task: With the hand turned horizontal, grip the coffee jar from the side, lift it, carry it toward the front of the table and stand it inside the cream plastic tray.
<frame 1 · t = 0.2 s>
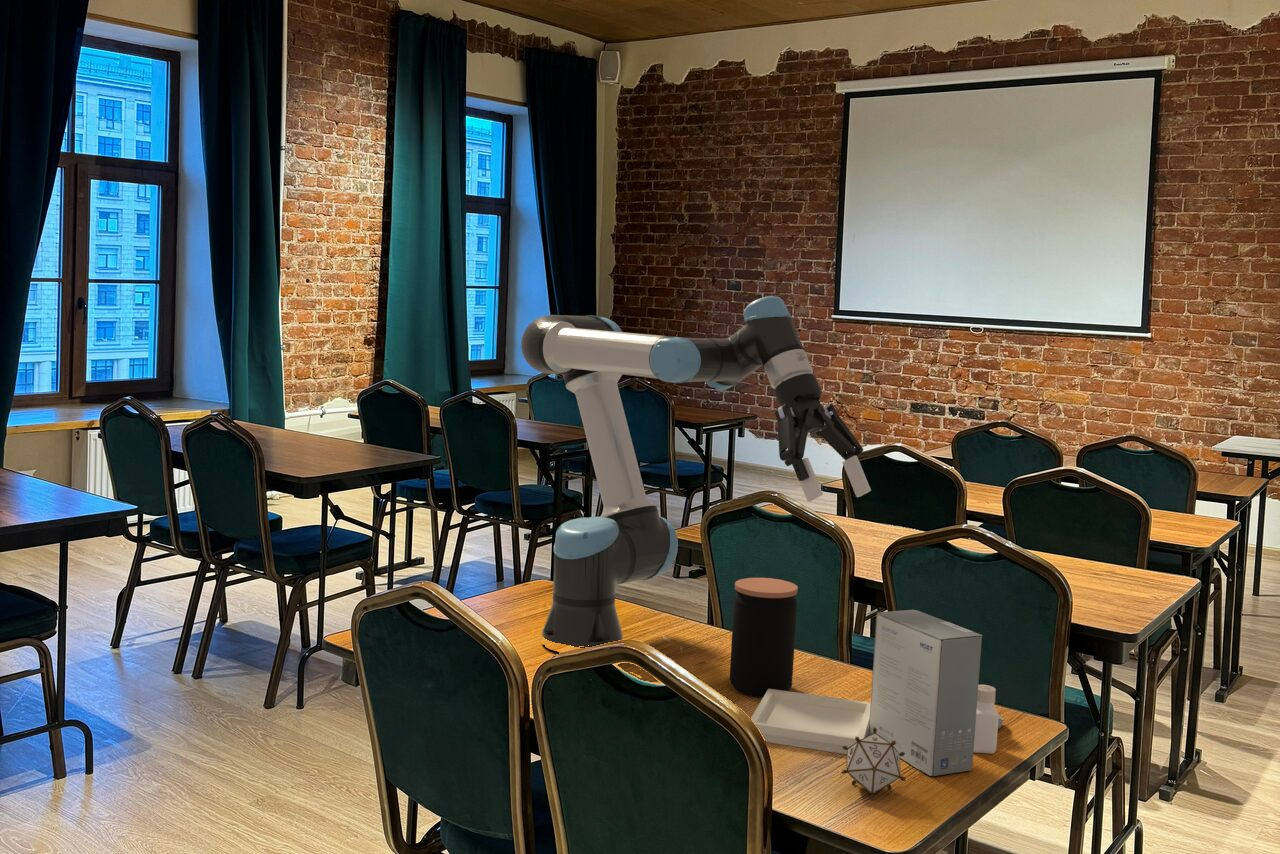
hand: (840, 496, 191), 34 cm above the table, tool tilted 30°, fingers open, 13 cm apart
tray: (811, 728, 180), on the table
game die: (871, 792, 157), on the table
ceramic mug: (967, 727, 184), on the table
pepper shaker: (979, 750, 174), on the table
coffee jar: (760, 689, 198), on the table
hard drive box: (918, 756, 171), on the table
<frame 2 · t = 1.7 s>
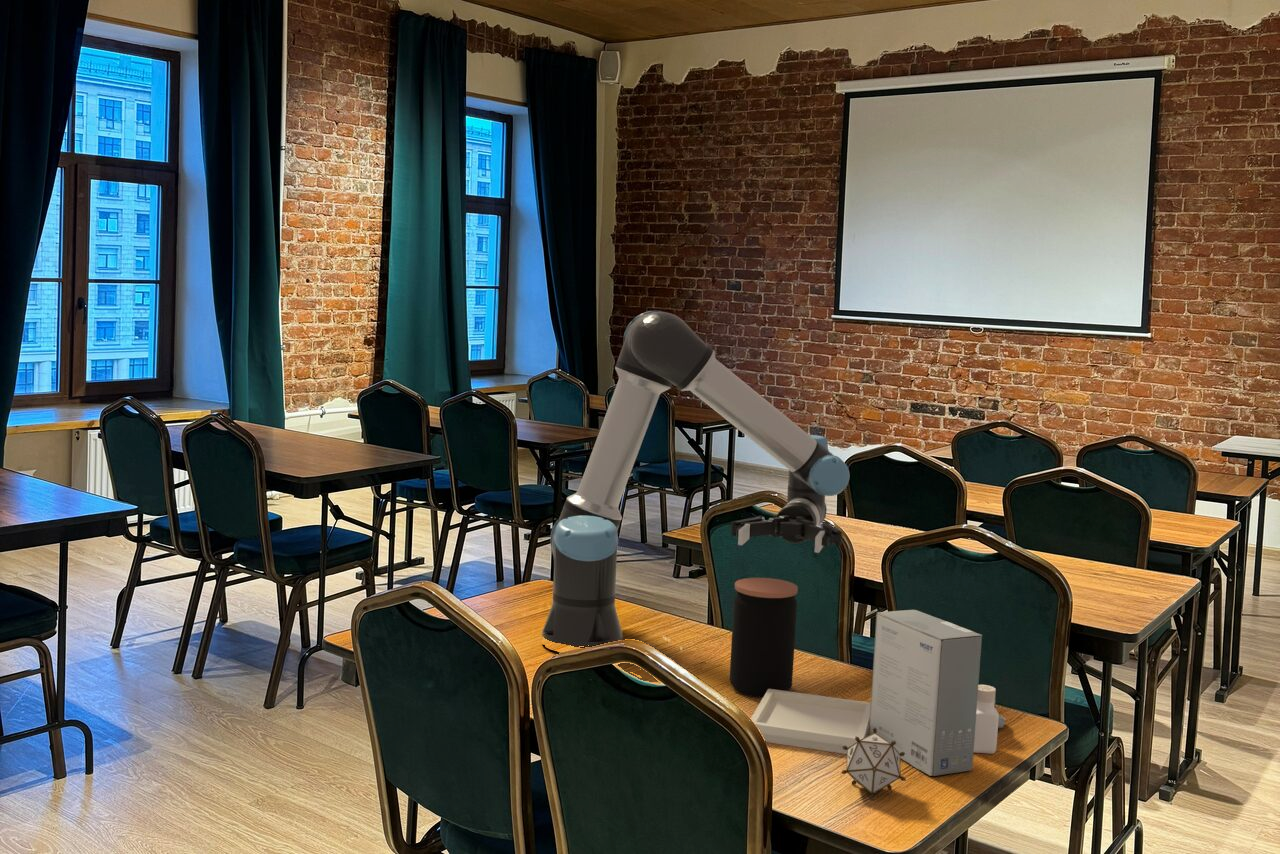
hand: (778, 541, 204), 24 cm above the table, tool horizontal, fingers open, 13 cm apart
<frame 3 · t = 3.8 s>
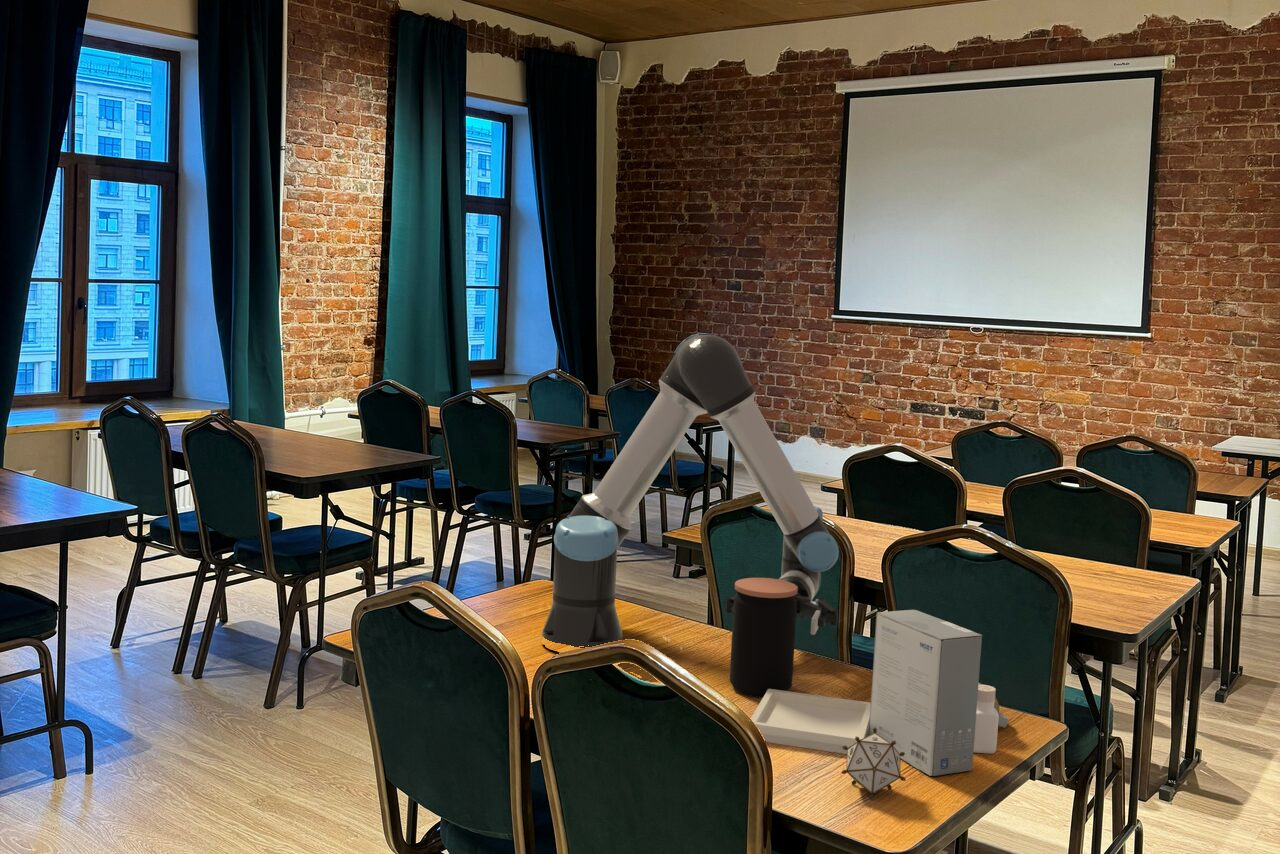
hand: (774, 622, 203), 10 cm above the table, tool horizontal, fingers open, 13 cm apart
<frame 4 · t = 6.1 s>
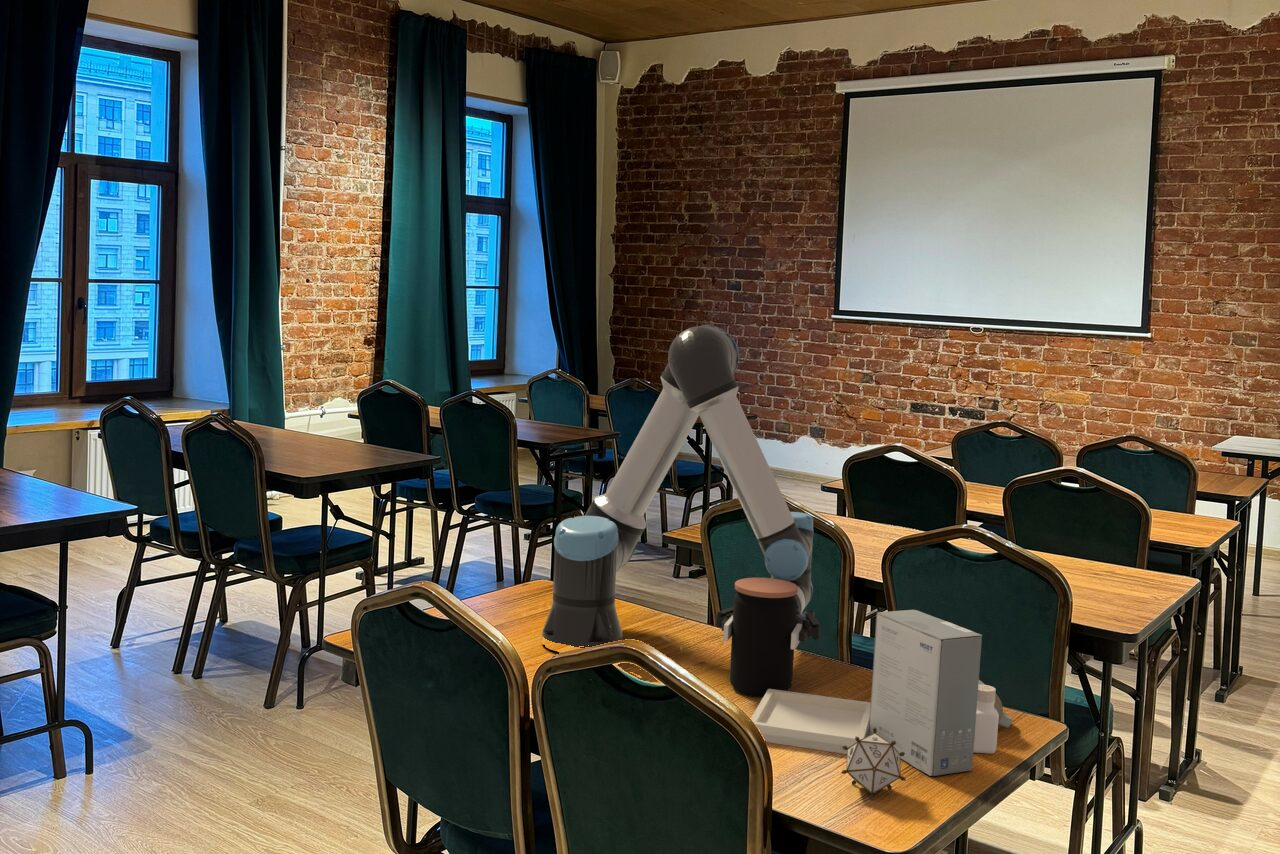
hand: (759, 637, 193), 10 cm above the table, tool horizontal, fingers closed on coffee jar, 11 cm apart
coffee jar: (760, 689, 198), on the table, touching gripper
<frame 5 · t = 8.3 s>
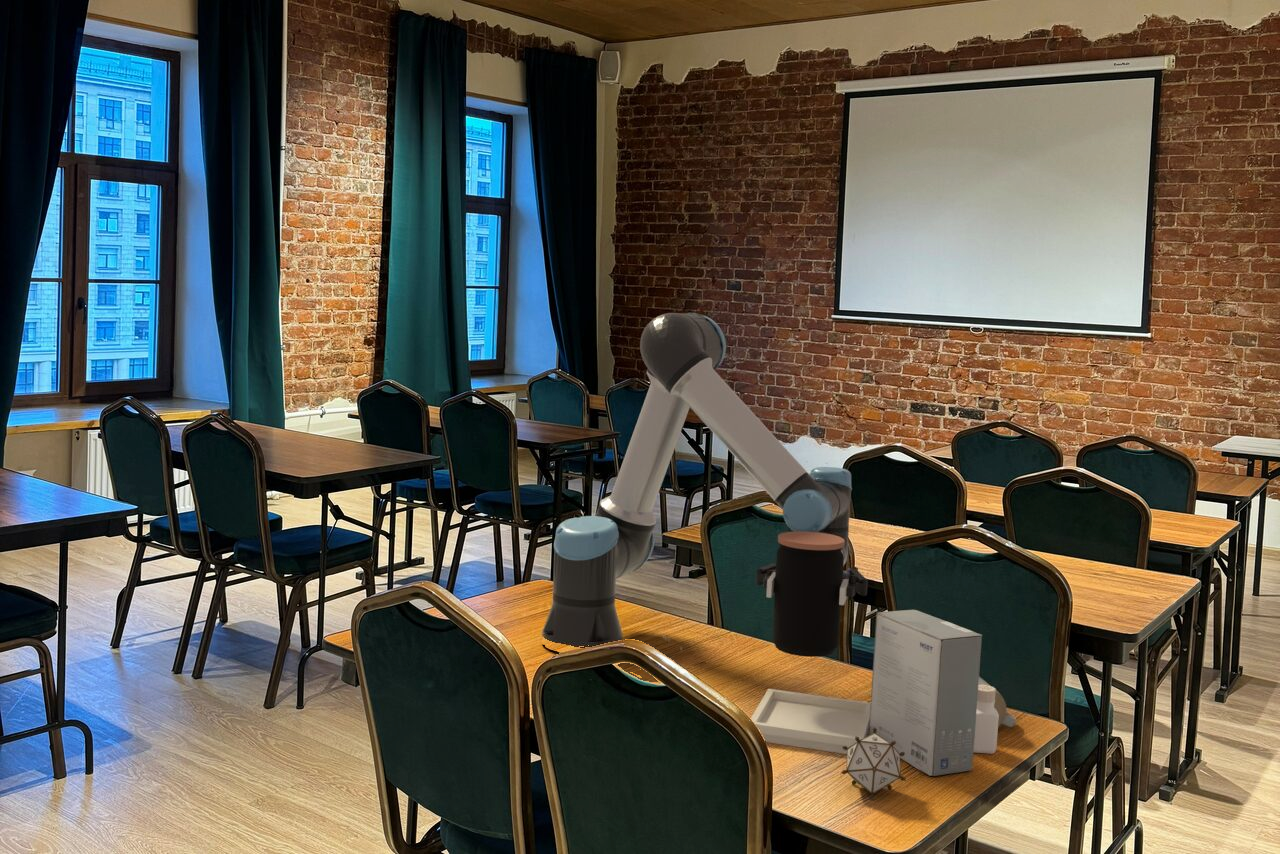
hand: (805, 592, 182), 20 cm above the table, tool horizontal, fingers closed on coffee jar, 11 cm apart
coffee jar: (804, 649, 187), point 10 cm above the table, touching gripper
when the fingers open (13 cm above the table, at t = 10.7 s): coffee jar drops 1 cm, resting on tray.
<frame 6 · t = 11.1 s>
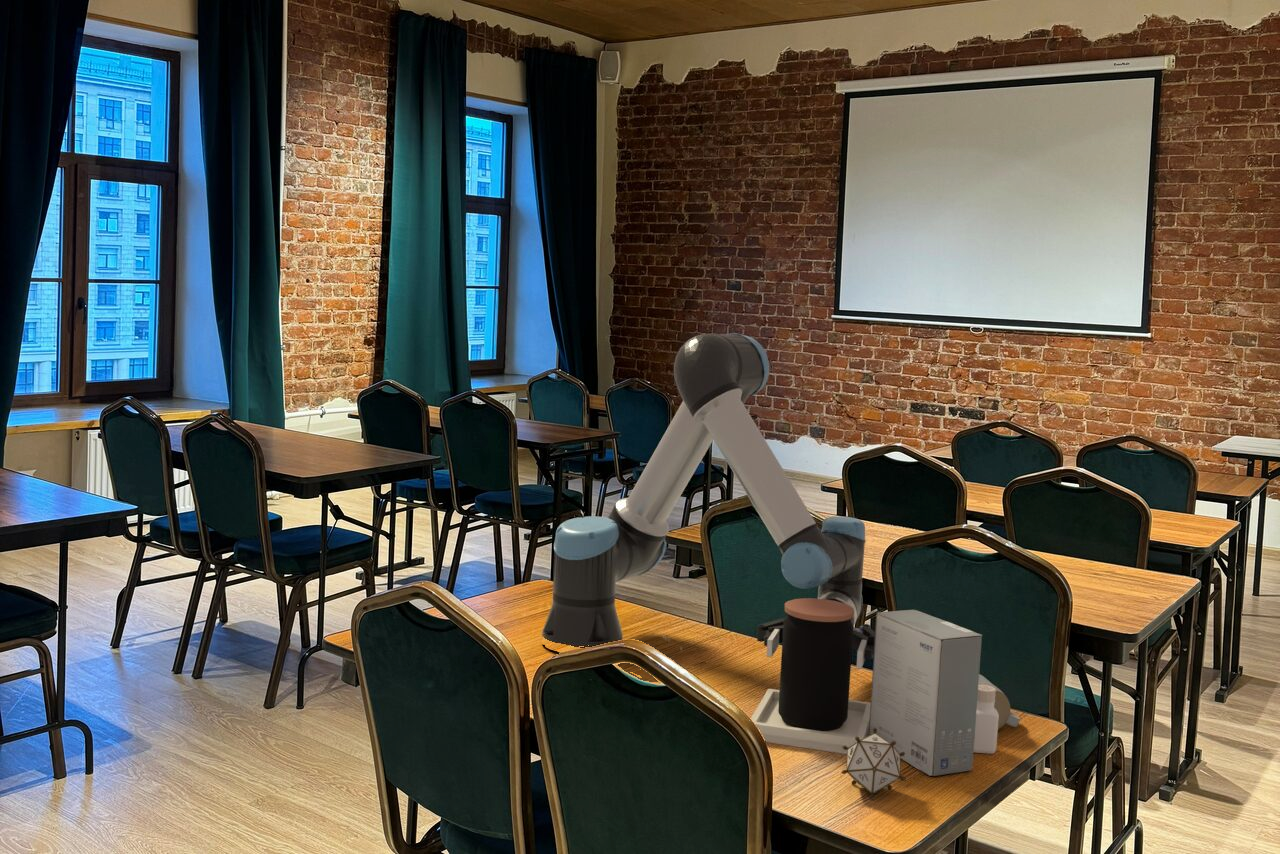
hand: (813, 654, 175), 13 cm above the table, tool horizontal, fingers open, 13 cm apart
coffee jar: (812, 721, 180), point 1 cm above the table, touching tray
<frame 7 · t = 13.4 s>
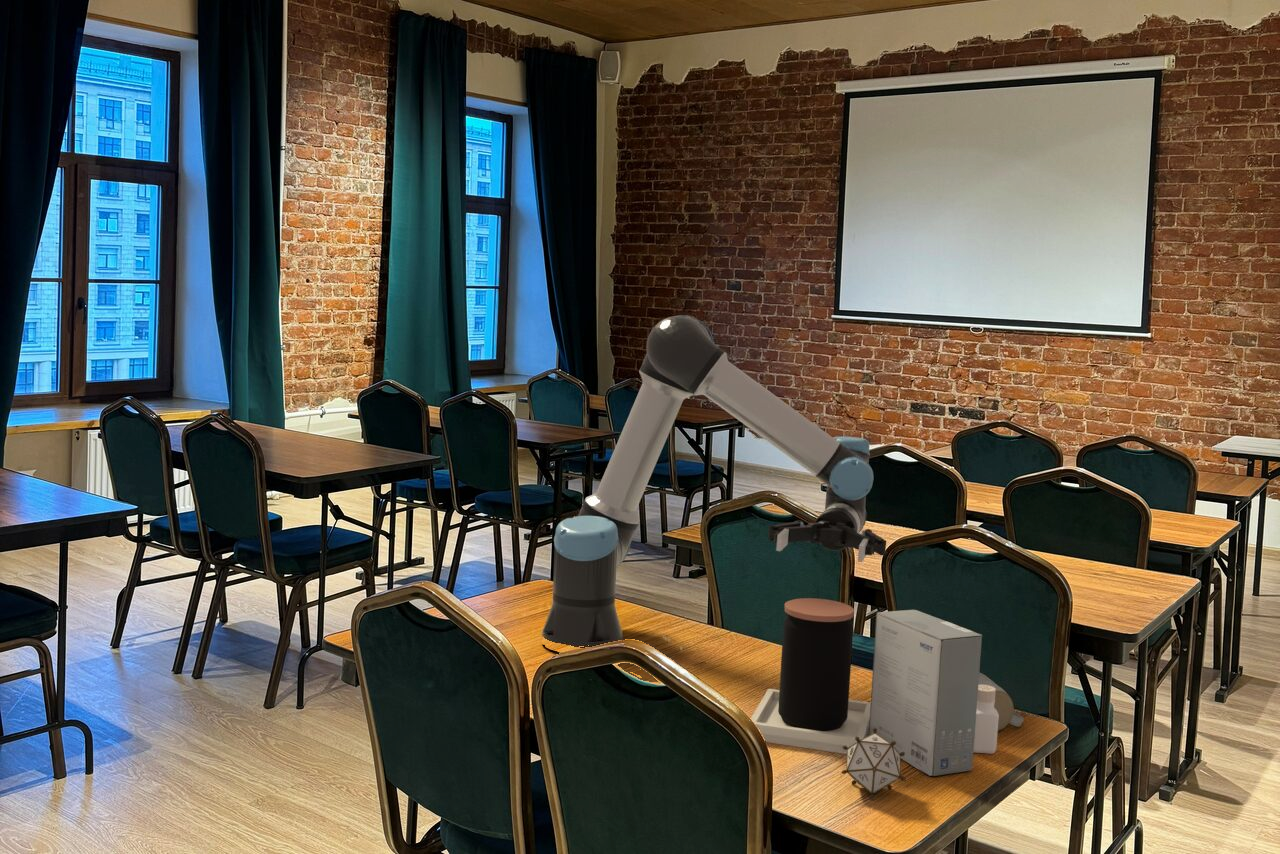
hand: (819, 548, 193), 25 cm above the table, tool horizontal, fingers open, 13 cm apart
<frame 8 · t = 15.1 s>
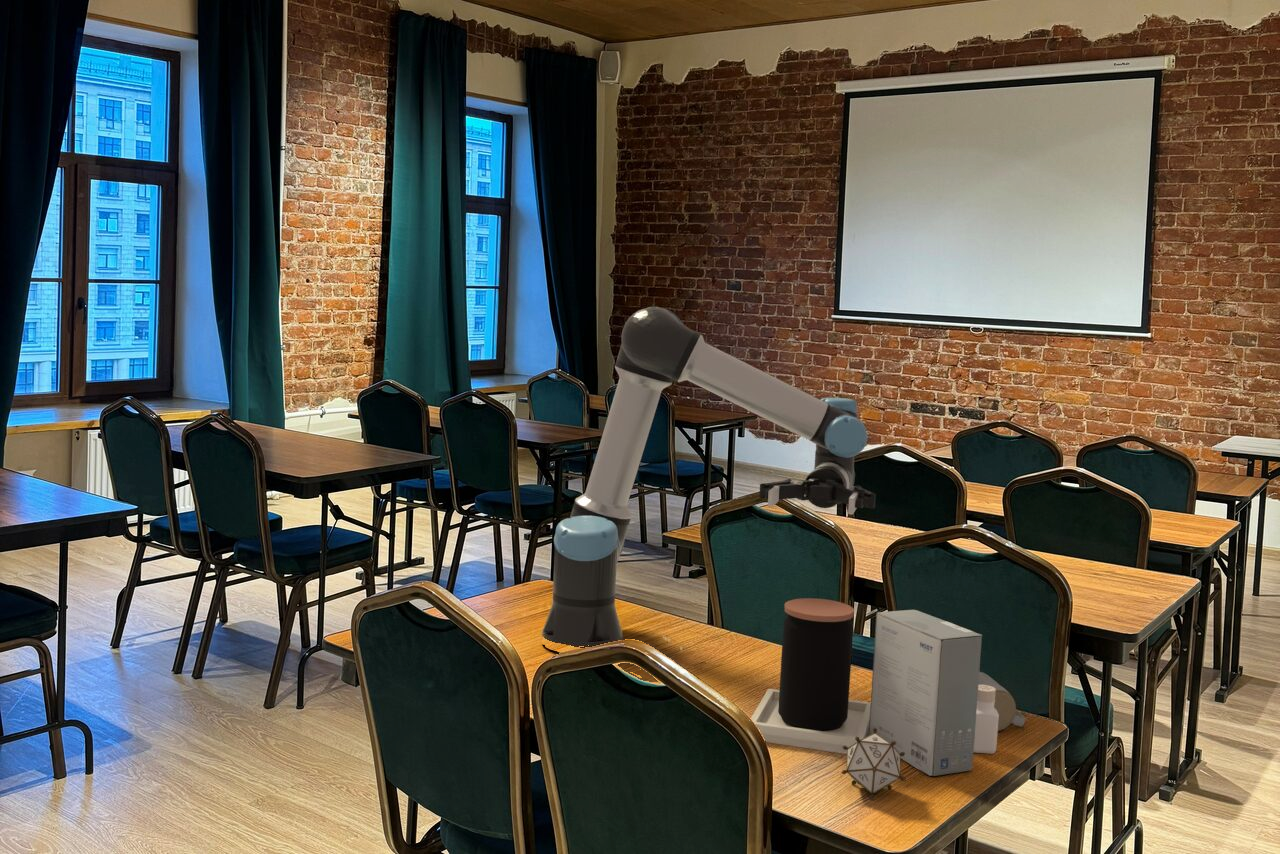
hand: (810, 502, 196), 32 cm above the table, tool horizontal, fingers open, 13 cm apart
at the end: coffee jar inside the target area on the tray (0.1 cm from its centre), point 1.0 cm above the tray's base; coffee jar tilted 0°; the gripper is holding nothing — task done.
